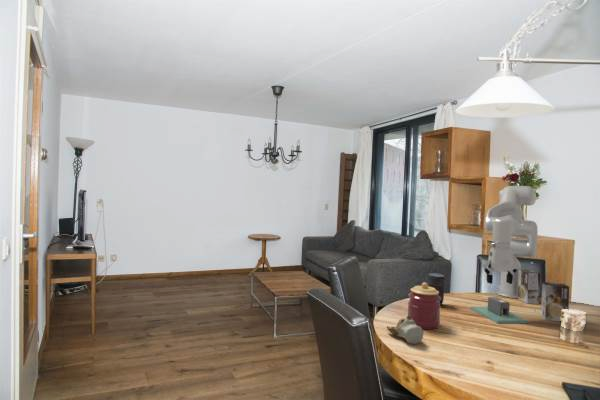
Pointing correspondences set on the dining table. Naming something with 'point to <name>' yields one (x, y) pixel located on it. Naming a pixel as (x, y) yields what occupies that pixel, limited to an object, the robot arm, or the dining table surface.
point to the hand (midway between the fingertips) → (499, 283)
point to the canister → (424, 306)
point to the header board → (499, 319)
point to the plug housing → (498, 306)
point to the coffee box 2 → (554, 300)
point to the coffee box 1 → (529, 286)
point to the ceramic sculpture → (408, 330)
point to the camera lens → (437, 284)
